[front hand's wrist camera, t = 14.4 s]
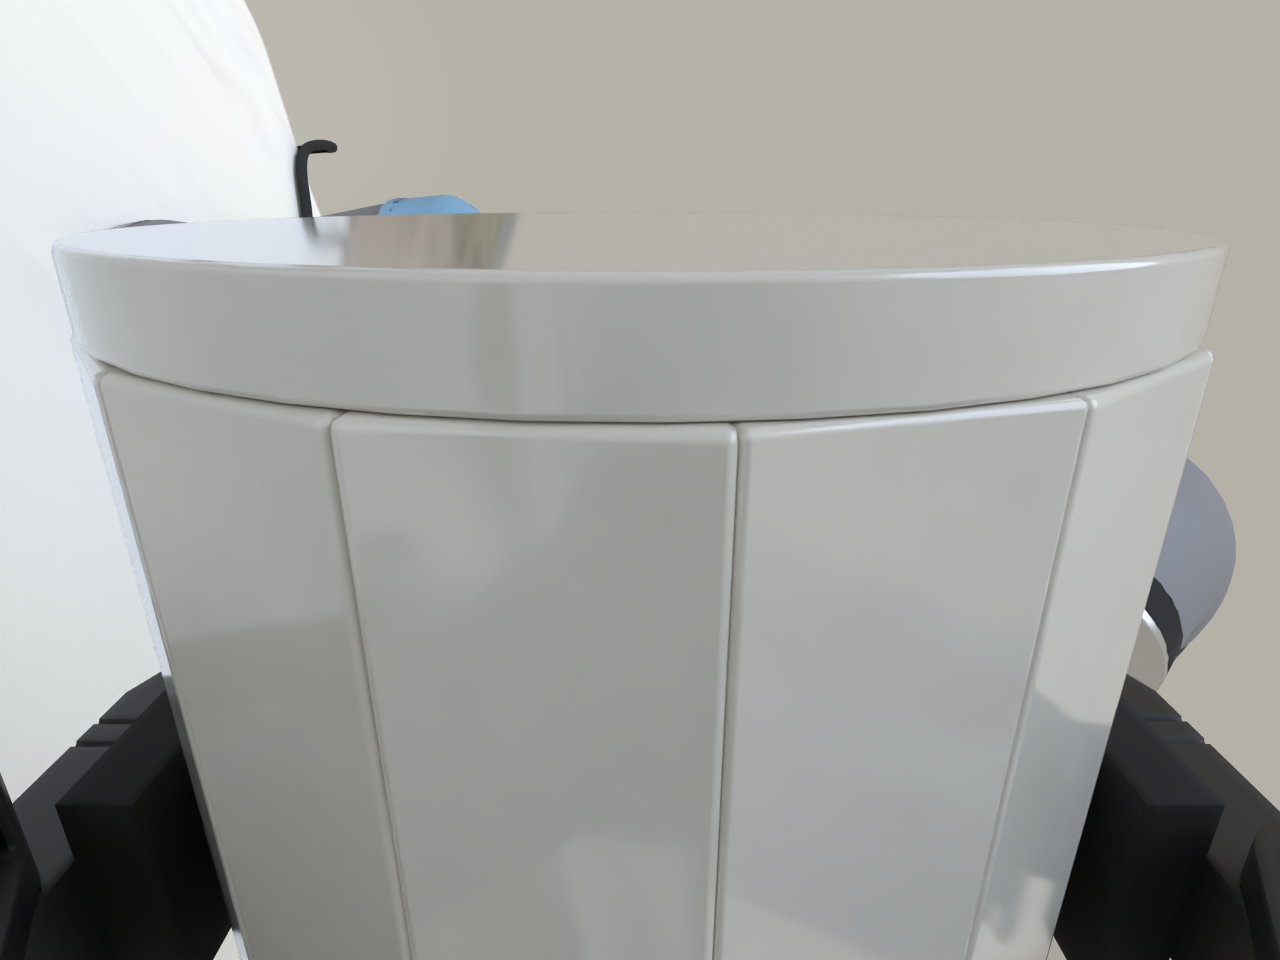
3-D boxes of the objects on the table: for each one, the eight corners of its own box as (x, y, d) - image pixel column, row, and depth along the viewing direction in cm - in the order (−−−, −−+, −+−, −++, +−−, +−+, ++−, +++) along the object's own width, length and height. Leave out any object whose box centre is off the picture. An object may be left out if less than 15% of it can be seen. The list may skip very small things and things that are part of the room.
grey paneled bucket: (824, 210, 13) (784, 691, 17) (217, 215, 11) (326, 780, 14) (1627, 245, 5) (1184, 1216, 8) (-593, 317, 2) (210, 1680, 6)
